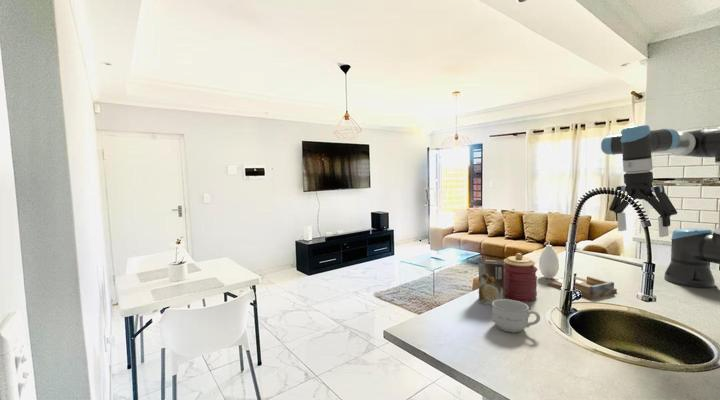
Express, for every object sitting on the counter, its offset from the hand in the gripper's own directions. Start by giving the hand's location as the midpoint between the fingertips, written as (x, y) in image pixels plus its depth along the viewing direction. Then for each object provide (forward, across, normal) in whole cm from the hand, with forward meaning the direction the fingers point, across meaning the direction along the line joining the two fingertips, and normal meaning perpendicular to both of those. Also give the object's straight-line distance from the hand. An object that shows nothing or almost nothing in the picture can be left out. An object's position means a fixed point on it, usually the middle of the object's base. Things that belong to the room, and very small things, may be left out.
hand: (641, 233), depth 111 cm
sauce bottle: (+26, -38, -6) cm, 47 cm away
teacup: (+23, 0, -52) cm, 57 cm away
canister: (+24, -24, -33) cm, 47 cm away
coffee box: (+23, -21, -46) cm, 56 cm away
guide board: (+27, -24, -3) cm, 36 cm away
